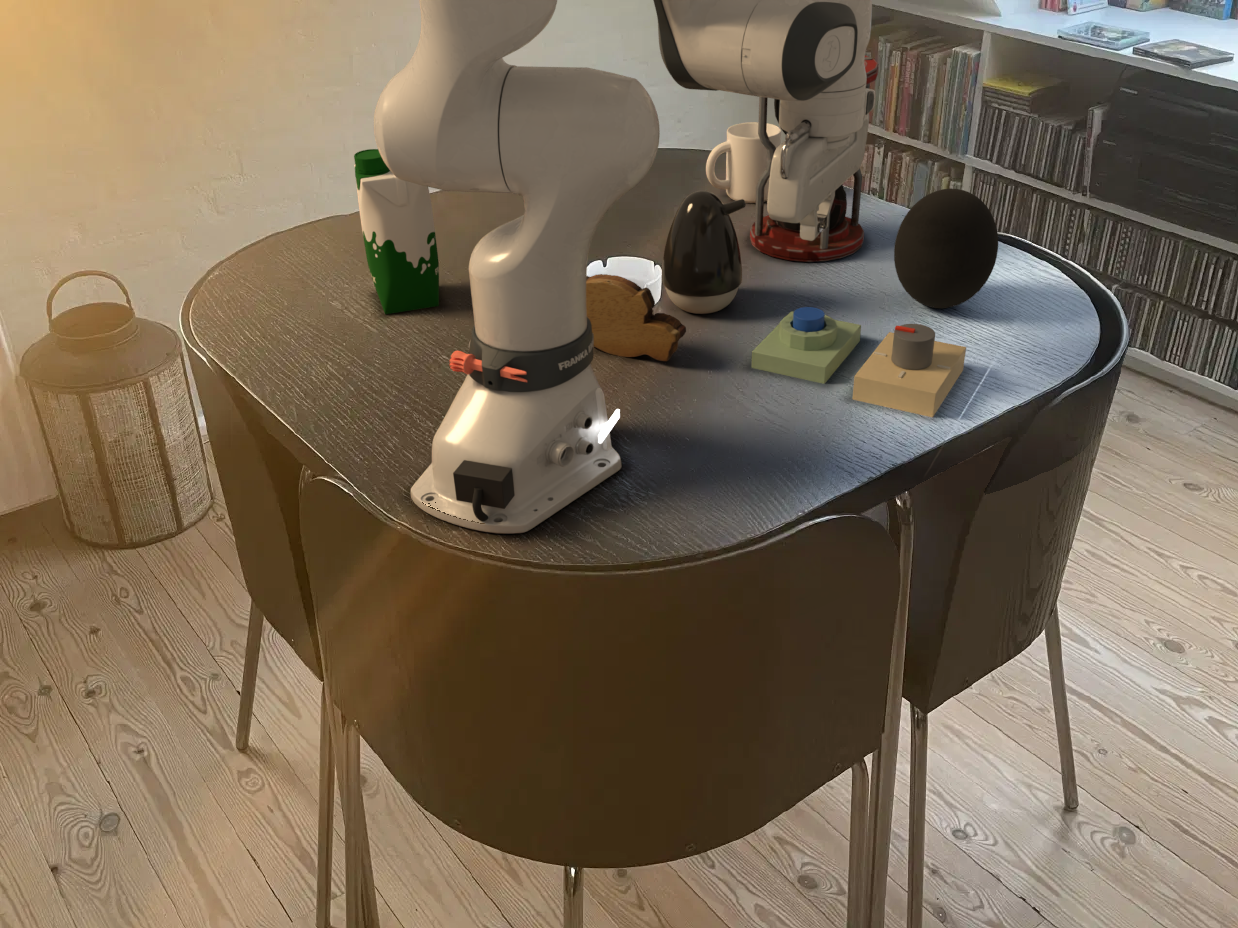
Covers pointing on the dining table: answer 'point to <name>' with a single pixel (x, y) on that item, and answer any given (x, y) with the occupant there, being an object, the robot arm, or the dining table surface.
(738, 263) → the pump dispenser
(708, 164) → the mug
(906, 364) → the dial
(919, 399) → the dial panel
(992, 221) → the decorative egg
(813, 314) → the button
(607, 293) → the wooden carving
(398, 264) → the milk carton
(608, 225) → the dining table surface
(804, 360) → the button housing
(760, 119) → the hourglass
